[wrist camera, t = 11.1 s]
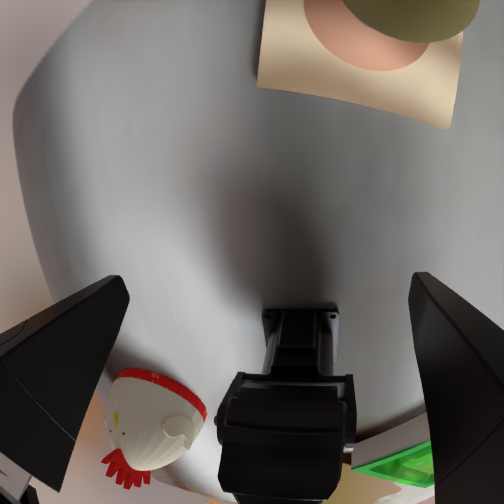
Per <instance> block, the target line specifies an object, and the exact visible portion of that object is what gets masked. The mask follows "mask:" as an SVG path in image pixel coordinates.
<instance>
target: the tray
mask: <svg viewBox="0 0 504 504" xmlns="http://www.w3.org/2000/svg"><path fill="white" fill-rule="evenodd" d="M351 470H352V471H356V472H359V473H363V474H366V475H370V476H374V477H377V478H381V479H385V480H389V481H394V482H398V483H402V484H407V485H412V486H417V487H423V488H426V487H429V486H431V485H434V470H433V459H432V449H431V440H430V432H429V425H428V418H427V412H425V413H423V414H421V415H419V416H417V417H415V418H413V419H411V420H409V421H407V422H405V423H403V424H401V425H399V426H397V427H394V428H392V429H390V430H388V431H385V432H383V433H381V434H378V435H376V436H373V437H371V438H369V439H366V440H364V441H361V442H358V443H356V444H354V448H353V451H352V466H351Z"/></svg>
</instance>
